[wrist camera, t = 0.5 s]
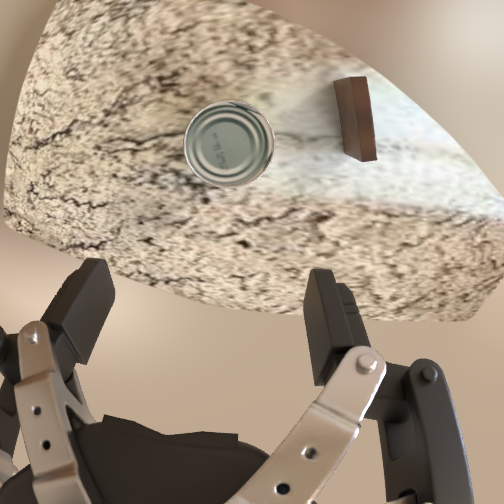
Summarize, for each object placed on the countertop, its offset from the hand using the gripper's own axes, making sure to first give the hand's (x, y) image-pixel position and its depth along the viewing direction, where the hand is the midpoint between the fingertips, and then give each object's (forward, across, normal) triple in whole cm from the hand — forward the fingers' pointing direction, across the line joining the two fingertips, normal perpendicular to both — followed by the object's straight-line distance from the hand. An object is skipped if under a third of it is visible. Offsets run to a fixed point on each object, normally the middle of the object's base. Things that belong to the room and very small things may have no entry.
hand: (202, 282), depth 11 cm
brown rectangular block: (+29, -14, -3) cm, 32 cm away
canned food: (+28, +1, 0) cm, 28 cm away
